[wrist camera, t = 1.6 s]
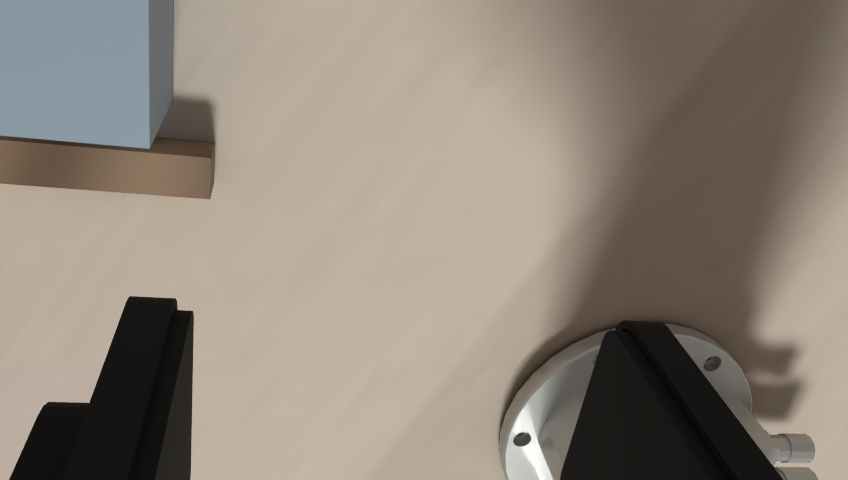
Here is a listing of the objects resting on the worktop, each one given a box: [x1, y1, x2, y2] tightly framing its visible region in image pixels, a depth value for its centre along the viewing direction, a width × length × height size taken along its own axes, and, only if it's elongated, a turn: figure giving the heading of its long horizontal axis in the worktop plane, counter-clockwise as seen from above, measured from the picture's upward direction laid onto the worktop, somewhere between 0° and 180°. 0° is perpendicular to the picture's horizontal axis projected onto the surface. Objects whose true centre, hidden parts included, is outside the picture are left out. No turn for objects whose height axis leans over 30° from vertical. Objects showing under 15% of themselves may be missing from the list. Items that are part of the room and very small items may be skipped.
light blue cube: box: [0, 0, 174, 149], centre depth 23 cm, size 5×5×5 cm
